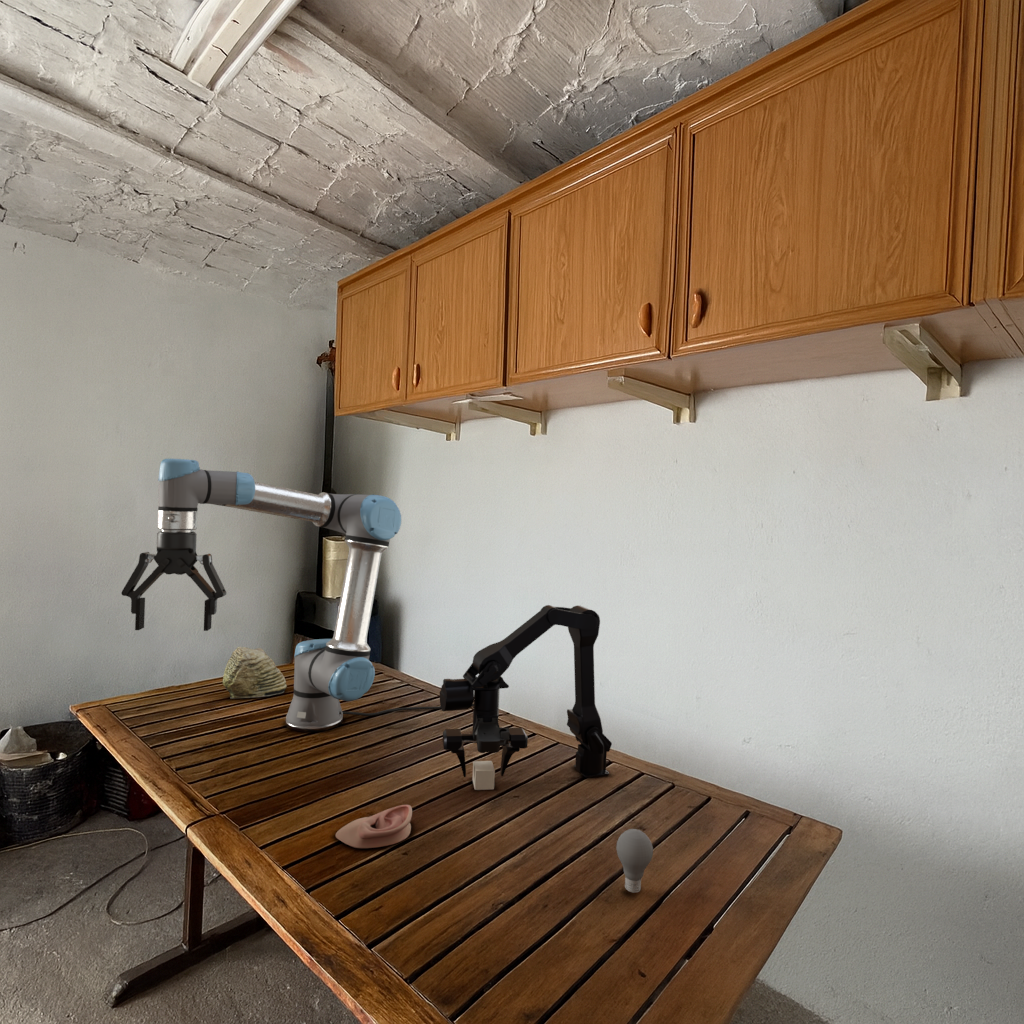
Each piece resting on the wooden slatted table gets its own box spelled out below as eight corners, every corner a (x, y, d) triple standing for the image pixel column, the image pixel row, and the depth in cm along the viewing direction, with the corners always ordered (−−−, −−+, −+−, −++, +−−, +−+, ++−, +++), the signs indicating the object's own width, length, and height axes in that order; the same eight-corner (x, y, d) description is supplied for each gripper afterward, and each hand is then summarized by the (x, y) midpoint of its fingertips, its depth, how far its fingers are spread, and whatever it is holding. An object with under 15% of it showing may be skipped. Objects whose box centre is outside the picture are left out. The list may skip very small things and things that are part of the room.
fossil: (218, 695, 195) (220, 647, 195) (278, 685, 208) (279, 640, 207) (228, 703, 189) (230, 653, 188) (289, 692, 201) (290, 645, 201)
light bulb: (610, 879, 108) (613, 822, 108) (644, 879, 109) (647, 822, 109) (619, 902, 102) (622, 840, 102) (655, 901, 103) (658, 840, 103)
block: (474, 790, 140) (475, 770, 140) (472, 779, 145) (473, 761, 145) (494, 789, 141) (494, 770, 141) (490, 779, 146) (491, 760, 146)
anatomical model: (328, 822, 116) (356, 794, 127) (327, 843, 116) (355, 813, 127) (396, 832, 113) (418, 803, 124) (395, 855, 113) (418, 823, 124)
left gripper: (105, 529, 130) (102, 632, 131) (233, 533, 134) (230, 633, 135) (121, 527, 138) (118, 625, 138) (242, 531, 142) (239, 626, 142)
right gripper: (446, 720, 133) (443, 794, 133) (533, 719, 136) (530, 791, 136) (443, 703, 144) (441, 771, 144) (524, 702, 147) (521, 769, 147)
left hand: (173, 629), depth 136 cm, fingers open, 13 cm apart
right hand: (483, 776), depth 143 cm, fingers open, 8 cm apart
